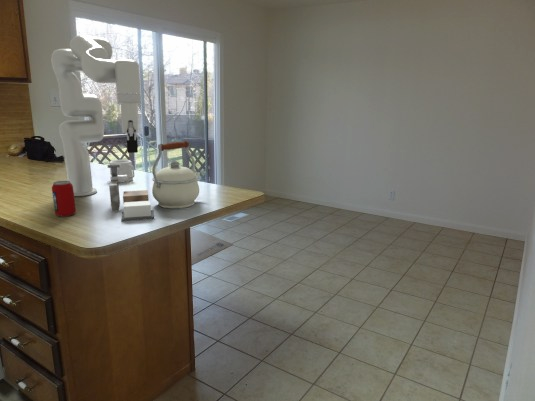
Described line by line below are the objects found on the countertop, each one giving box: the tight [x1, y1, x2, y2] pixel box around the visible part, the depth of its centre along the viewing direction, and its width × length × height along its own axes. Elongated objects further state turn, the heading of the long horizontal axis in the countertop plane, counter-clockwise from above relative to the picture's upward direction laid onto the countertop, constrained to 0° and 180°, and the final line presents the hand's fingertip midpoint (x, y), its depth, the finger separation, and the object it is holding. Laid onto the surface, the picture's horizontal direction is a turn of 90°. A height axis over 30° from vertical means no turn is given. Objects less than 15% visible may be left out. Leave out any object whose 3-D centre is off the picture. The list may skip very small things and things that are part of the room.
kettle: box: [151, 140, 201, 210], centre depth 153 cm, size 25×18×25 cm
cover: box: [123, 200, 152, 218], centre depth 138 cm, size 9×6×4 cm, turn 108°
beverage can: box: [51, 180, 77, 217], centre depth 138 cm, size 7×7×12 cm
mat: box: [120, 209, 155, 222], centre depth 138 cm, size 11×9×1 cm
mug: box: [108, 159, 135, 183], centre depth 196 cm, size 14×11×10 cm
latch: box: [107, 164, 127, 181], centre depth 150 cm, size 7×3×6 cm, turn 108°
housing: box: [108, 179, 150, 212], centre depth 149 cm, size 14×13×10 cm
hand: (132, 150), depth 132 cm, fingers open, 9 cm apart
